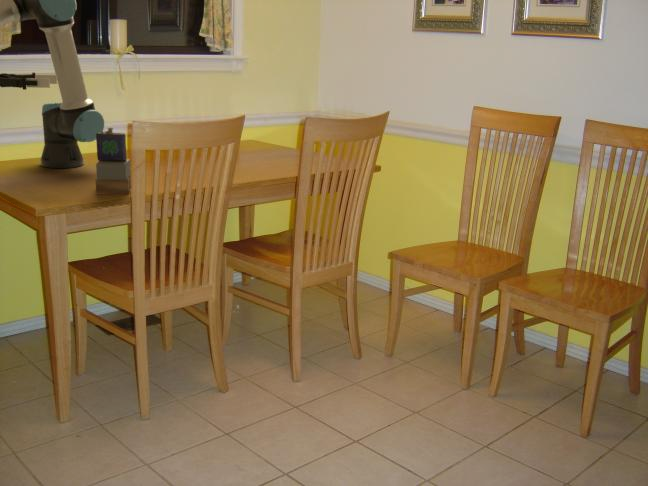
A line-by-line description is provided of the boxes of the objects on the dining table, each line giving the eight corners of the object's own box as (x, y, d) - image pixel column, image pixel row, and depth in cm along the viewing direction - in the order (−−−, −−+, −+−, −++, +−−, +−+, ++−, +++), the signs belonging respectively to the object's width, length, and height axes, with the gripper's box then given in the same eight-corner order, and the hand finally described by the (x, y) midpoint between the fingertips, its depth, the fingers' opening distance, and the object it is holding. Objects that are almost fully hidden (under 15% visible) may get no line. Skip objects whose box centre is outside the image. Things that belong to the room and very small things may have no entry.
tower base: (100, 188, 249) (99, 173, 248) (131, 188, 251) (130, 173, 250) (96, 195, 240) (95, 179, 239) (128, 194, 242) (128, 179, 240)
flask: (127, 159, 244) (125, 127, 240) (125, 162, 241) (123, 129, 238) (98, 159, 244) (96, 126, 240) (96, 161, 241) (93, 128, 237)
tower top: (102, 173, 248) (101, 158, 246) (130, 174, 248) (130, 159, 247) (97, 179, 239) (96, 163, 238) (126, 179, 240) (125, 164, 238)
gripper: (-9, 88, 246) (60, 89, 250) (-29, 96, 223) (47, 97, 226) (-11, 64, 244) (58, 66, 248) (-32, 70, 220) (45, 71, 224)
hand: (53, 81), depth 237 cm, fingers open, 13 cm apart
